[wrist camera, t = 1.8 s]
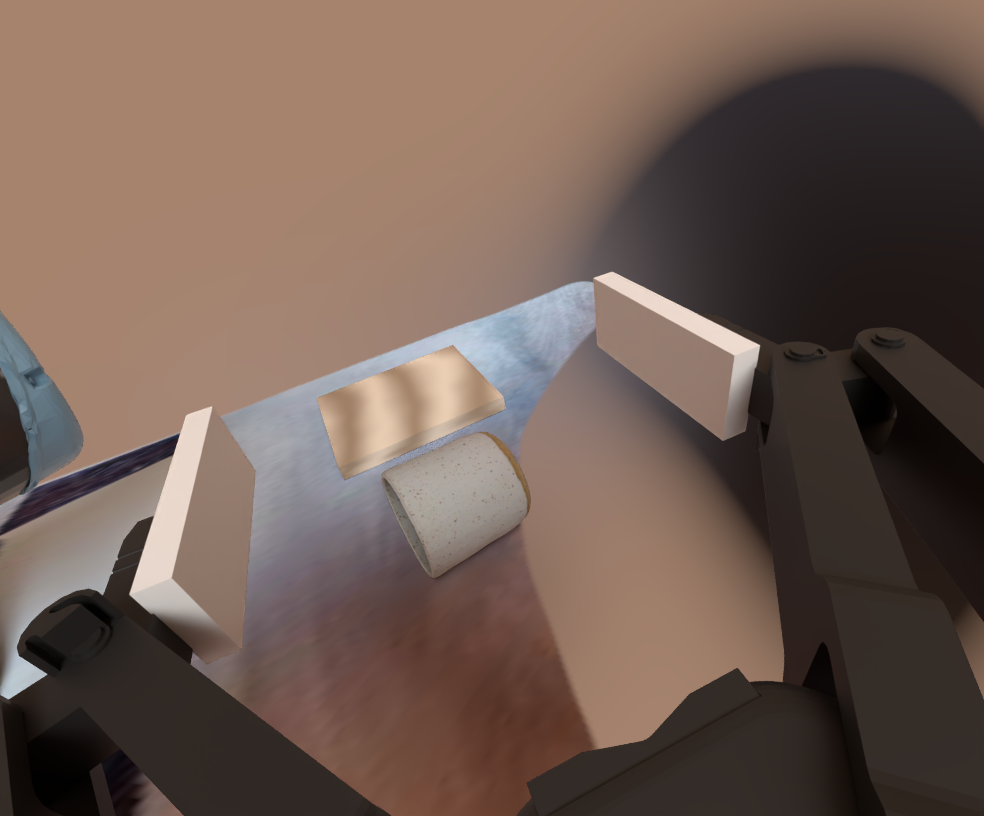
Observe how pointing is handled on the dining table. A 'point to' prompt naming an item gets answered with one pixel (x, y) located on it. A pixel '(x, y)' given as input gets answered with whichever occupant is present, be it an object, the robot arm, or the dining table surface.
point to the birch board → (405, 409)
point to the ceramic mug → (457, 499)
